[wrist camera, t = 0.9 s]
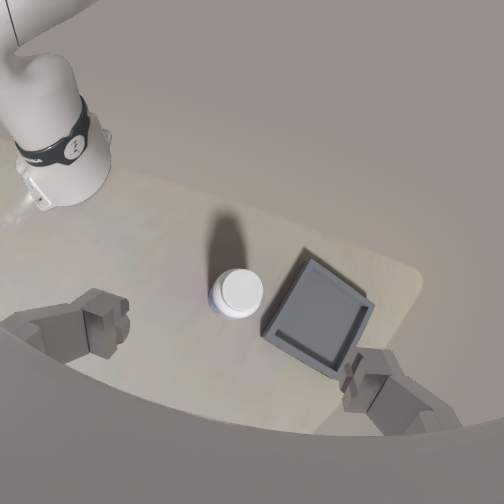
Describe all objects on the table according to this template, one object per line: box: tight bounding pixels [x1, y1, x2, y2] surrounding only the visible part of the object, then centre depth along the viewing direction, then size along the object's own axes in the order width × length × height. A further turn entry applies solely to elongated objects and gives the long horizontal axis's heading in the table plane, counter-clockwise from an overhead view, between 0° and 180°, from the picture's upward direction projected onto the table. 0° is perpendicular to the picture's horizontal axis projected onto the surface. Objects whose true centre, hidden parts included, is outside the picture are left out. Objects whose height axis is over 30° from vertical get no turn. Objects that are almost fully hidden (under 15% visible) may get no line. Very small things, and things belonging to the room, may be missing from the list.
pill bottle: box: [208, 268, 263, 320], centre depth 36 cm, size 6×6×11 cm
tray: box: [261, 258, 375, 380], centre depth 42 cm, size 14×14×2 cm
